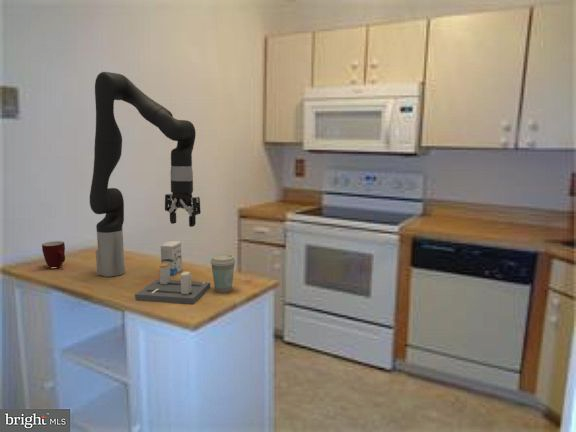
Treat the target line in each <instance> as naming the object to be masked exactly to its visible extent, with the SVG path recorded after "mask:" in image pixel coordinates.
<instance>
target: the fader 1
mask: <svg viewBox="0 0 576 432" xmlns="http://www.w3.org/2000/svg"><path fill="white" fill-rule="evenodd" d="M159 279H160V284H168V283H169V282H170V280H171V275H170V263H163V264H160V265H159Z"/></svg>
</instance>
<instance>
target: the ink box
mask: <svg viewBox="0 0 576 432" xmlns="http://www.w3.org/2000/svg"><path fill="white" fill-rule="evenodd" d="M160 259H161V260H160V261H161V262H160V263H161V264H163V263H170V276H175V275H176V274H178V273H180V272H181V271H182V270H183V263H182V262H183V261H182V241H175V240H169V241H167V242H165V243H163V244H161V245H160ZM161 264H160V265H161Z"/></svg>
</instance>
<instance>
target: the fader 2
mask: <svg viewBox="0 0 576 432" xmlns="http://www.w3.org/2000/svg"><path fill="white" fill-rule="evenodd" d="M180 281H181V294H189V293H190V292H191V281H192V271H182V273H181V274H180Z"/></svg>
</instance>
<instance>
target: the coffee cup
mask: <svg viewBox="0 0 576 432" xmlns="http://www.w3.org/2000/svg"><path fill="white" fill-rule="evenodd" d="M209 263H210V264H211V270H212V271H211V272H212V277H213V278H212V279H213V284H214V285H213V286H214V291H215V292H216V293H218V294H219V293H221V294H224V293H225V294H226V293H230V292H232V290H233V282H234V280H233V279H234V274H235V273H234V272H235V271H234V270H235V264H236V259H235V256H234V255H232V254H228V253H227V254H225V253H221V254H216V255H213V256H212V257H211V260H210V262H209ZM229 291H230V292H229Z"/></svg>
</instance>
